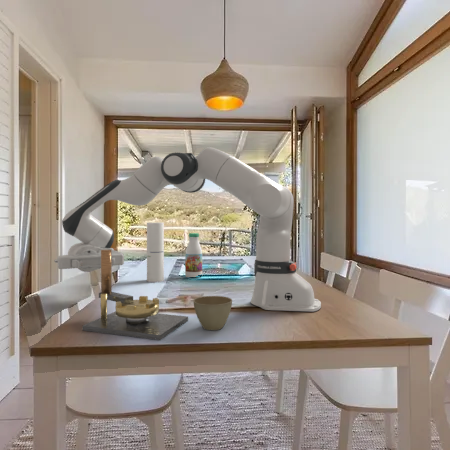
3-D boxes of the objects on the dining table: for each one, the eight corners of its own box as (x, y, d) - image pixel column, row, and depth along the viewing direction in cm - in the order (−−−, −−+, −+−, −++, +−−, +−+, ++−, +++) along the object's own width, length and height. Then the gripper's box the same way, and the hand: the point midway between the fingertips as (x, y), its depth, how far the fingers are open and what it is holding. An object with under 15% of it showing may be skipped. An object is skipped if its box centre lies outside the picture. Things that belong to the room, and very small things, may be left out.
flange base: (188, 320, 100) (188, 293, 100) (160, 340, 85) (160, 307, 84) (119, 313, 107) (119, 287, 106) (82, 330, 91) (82, 300, 91)
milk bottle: (183, 275, 170) (183, 232, 169) (200, 275, 172) (200, 232, 172) (187, 278, 163) (187, 233, 162) (204, 278, 165) (204, 233, 164)
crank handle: (167, 310, 97) (167, 252, 96) (135, 320, 88) (135, 256, 87) (119, 300, 108) (119, 248, 108) (86, 307, 99) (85, 251, 99)
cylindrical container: (160, 282, 154) (160, 222, 153) (144, 281, 155) (144, 222, 154) (166, 279, 161) (166, 222, 160) (150, 278, 162) (150, 222, 161)
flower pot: (230, 321, 100) (231, 295, 100) (233, 333, 90) (233, 304, 90) (194, 321, 99) (194, 295, 99) (192, 333, 89) (192, 304, 89)
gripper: (53, 250, 118) (59, 255, 106) (117, 247, 129) (129, 251, 117) (53, 270, 118) (59, 276, 107) (117, 265, 129) (129, 271, 118)
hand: (96, 263), depth 112 cm, fingers open, 8 cm apart
